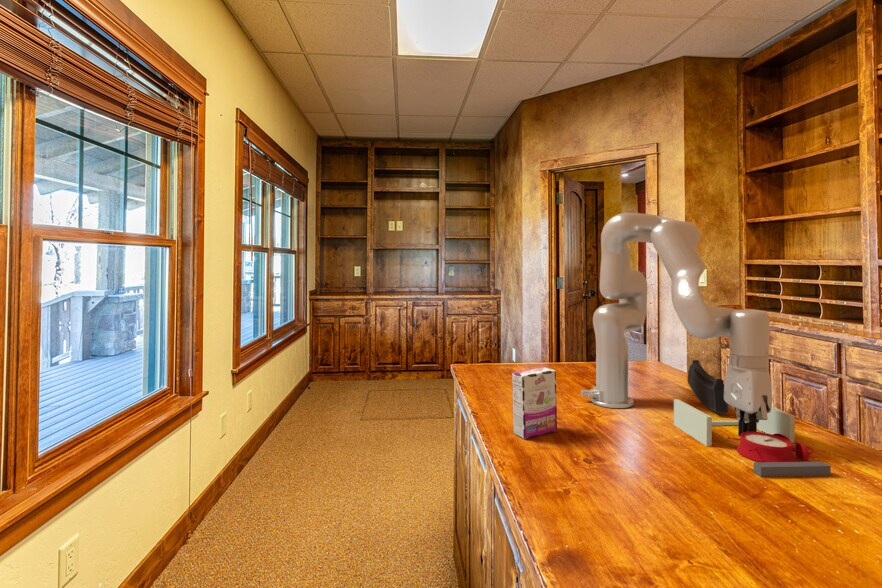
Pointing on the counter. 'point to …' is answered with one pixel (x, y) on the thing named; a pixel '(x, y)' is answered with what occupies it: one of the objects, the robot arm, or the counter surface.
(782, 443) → the alarm clock
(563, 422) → the counter surface
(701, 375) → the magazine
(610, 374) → the robot arm
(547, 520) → the counter surface
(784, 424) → the shelf bay
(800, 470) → the rail
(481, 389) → the counter surface
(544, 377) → the candy bar box
